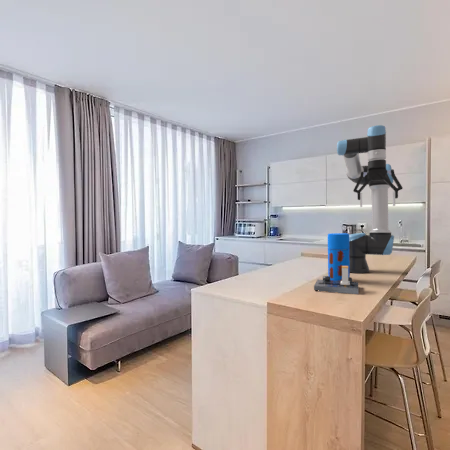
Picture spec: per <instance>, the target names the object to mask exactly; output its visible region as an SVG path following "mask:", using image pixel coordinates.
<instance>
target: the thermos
mask: <svg viewBox="0 0 450 450" xmlns="http://www.w3.org/2000/svg"><path fill="white" fill-rule="evenodd" d="M349 234H350V233H344V232H342V233H341V232H340V233H337V232H335V233H328V234H327V271H328V272H327V274H328V275H327V276H330V280H333V281H342V266H348V277H351V276H350V274H351V273H350V251H349Z"/></svg>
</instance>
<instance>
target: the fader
mask: <svg viewBox="0 0 450 450" xmlns="http://www.w3.org/2000/svg"><path fill="white" fill-rule="evenodd" d="M340 285H350V281H348V266H342V281H341V283H340Z"/></svg>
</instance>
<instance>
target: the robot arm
mask: <svg viewBox="0 0 450 450" xmlns="http://www.w3.org/2000/svg"><path fill="white" fill-rule="evenodd" d="M386 129H387V128H386V126H385V125H382V124H379V125H372V126H370V127H368V128H367V134H366V135H367V136H365V137H363V136H362V137H358V138H350V139H344V140H343V139H342V140H338V141H337V143H336V151H337V155H338V156H343V159H344V163H345V166H346V171H345V173H346V177H347V178H348V179H349V180H350V181H352V182H353V184H356V185H355V186H354V188H353V192H354V193H357V200H358V201H359V203H360V206H359V207H360V208H362V207H363V193H362V191H363V190H364V189H365V187H367V186H368V188H369V189H370V190H371V230H370V231H369V232H368V233H369V235H367V234H366V233H365V232H356V233H351V234H350V233H348V234H349V251H350V272H352V273H351V274H365V273H369V272H370V267H369V264H368V261H367V259H366V257H367V255H373V256H374V255H376V256H390V255H391V254H392V253H393V249H394V241H395V236H394V235H393V234H392V232H391V230H389V189H390V188H391V189H392V190H393V191H392V207H395V206H396V199H398V197H399V191H402V190H403V189H404V188H403V185H402V184H401V183H400V181H399V179H398V178H397V176H396V174H395V170H394V169H392V166H391V164H390V163H387V160H386V158H387V149H386V145H387V141H386V140H387V131H386ZM363 153H364V154H367V161H368V162H367V165H362V164H361V158H360V154H363ZM394 184H395V185H396V186H397V187H396V186H395V185H394ZM359 186H361V187H359Z"/></svg>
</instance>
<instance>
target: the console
mask: <svg viewBox="0 0 450 450" xmlns="http://www.w3.org/2000/svg"><path fill="white" fill-rule="evenodd" d="M348 281H350V285H340V283H341V281H333V280H330V276H328V275H323V276H322V279H317V280H316V282H315V283H314V285H313V291H314V290H319V291H318V292H321V291H328V292H327V293H335V292H338V294H350V295H351V294H352V295H359V282H358V281H353V277H351V276H350V277H348Z"/></svg>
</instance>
